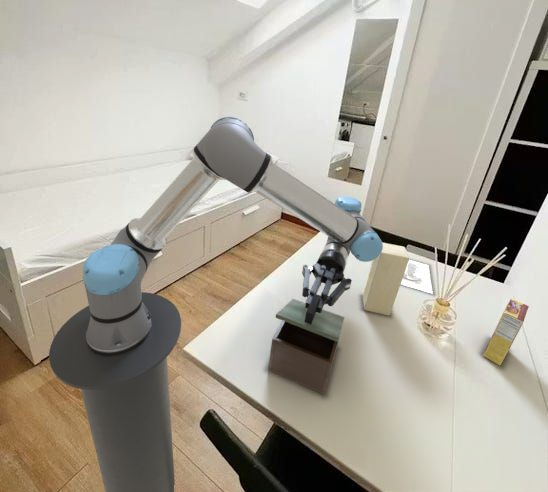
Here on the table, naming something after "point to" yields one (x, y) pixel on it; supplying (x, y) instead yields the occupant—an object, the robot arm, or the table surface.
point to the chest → (302, 356)
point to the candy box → (506, 331)
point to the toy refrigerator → (385, 279)
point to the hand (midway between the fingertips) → (308, 318)
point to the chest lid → (321, 324)
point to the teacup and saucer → (417, 276)
